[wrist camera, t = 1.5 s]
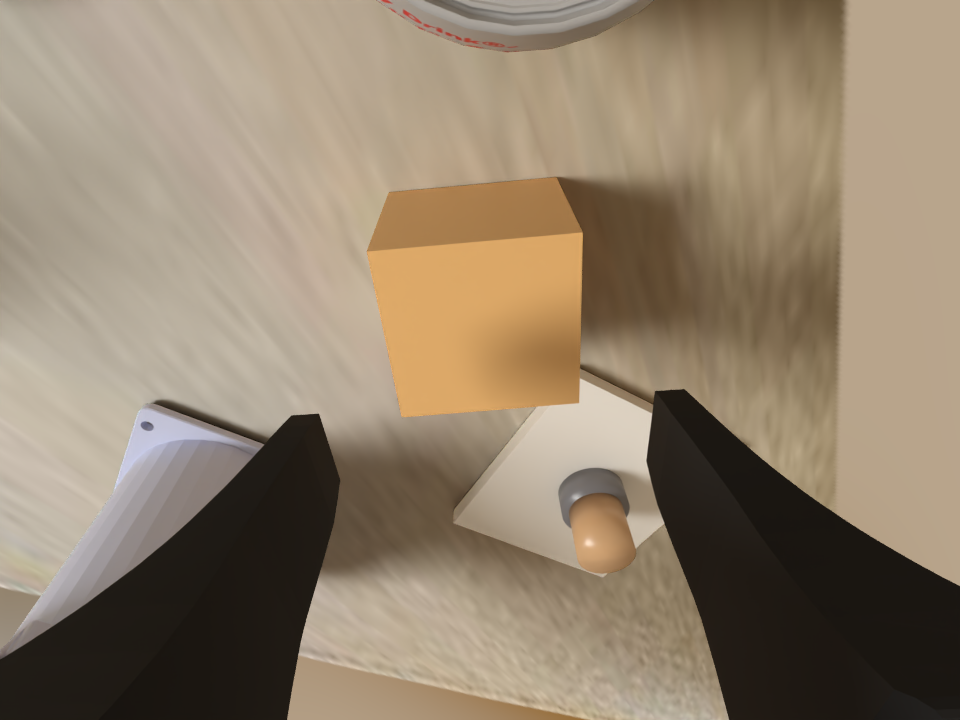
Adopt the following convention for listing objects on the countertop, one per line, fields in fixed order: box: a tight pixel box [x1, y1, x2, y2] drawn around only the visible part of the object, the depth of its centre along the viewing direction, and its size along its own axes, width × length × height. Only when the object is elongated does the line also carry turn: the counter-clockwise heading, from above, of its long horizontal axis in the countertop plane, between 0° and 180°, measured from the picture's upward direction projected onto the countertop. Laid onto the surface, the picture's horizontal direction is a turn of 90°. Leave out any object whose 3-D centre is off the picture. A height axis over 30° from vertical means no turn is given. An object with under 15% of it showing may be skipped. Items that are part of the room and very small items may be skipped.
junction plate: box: [453, 369, 664, 578], centre depth 25 cm, size 10×9×4 cm
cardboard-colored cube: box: [367, 177, 583, 417], centre depth 18 cm, size 6×6×5 cm
